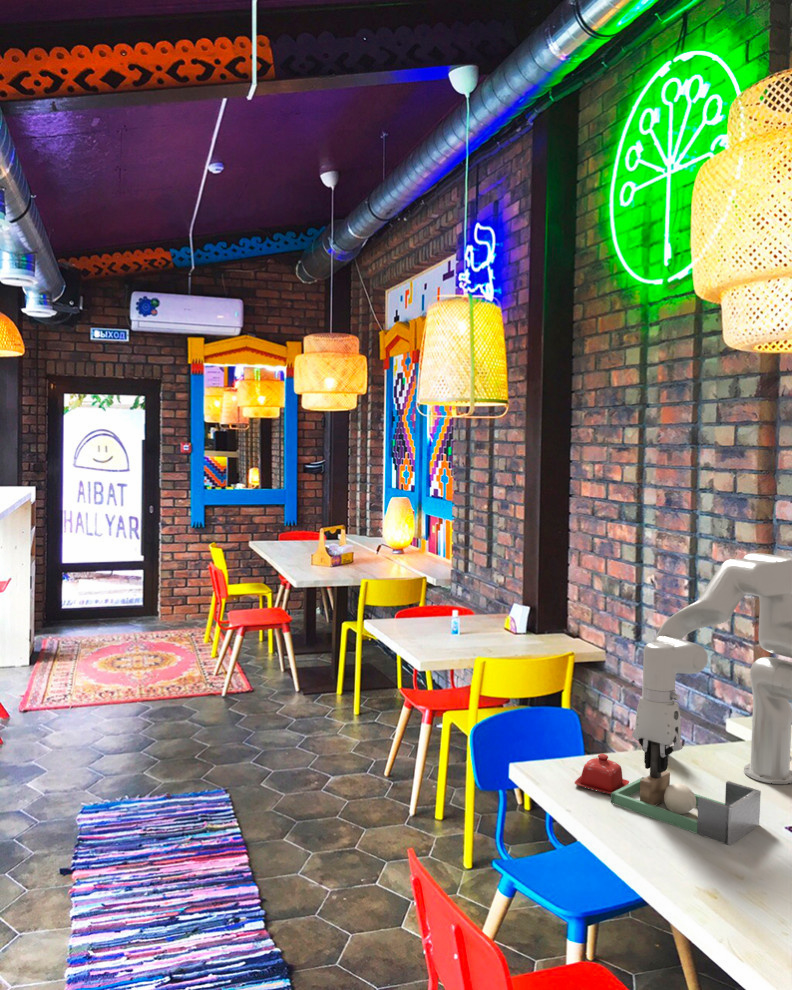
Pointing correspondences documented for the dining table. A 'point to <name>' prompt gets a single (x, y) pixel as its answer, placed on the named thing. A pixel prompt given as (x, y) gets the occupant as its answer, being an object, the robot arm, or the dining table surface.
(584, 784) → the butter dish
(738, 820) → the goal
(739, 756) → the dining table surface
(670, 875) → the dining table surface
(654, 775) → the striker
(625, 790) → the frame
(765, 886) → the dining table surface
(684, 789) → the cream round ball
